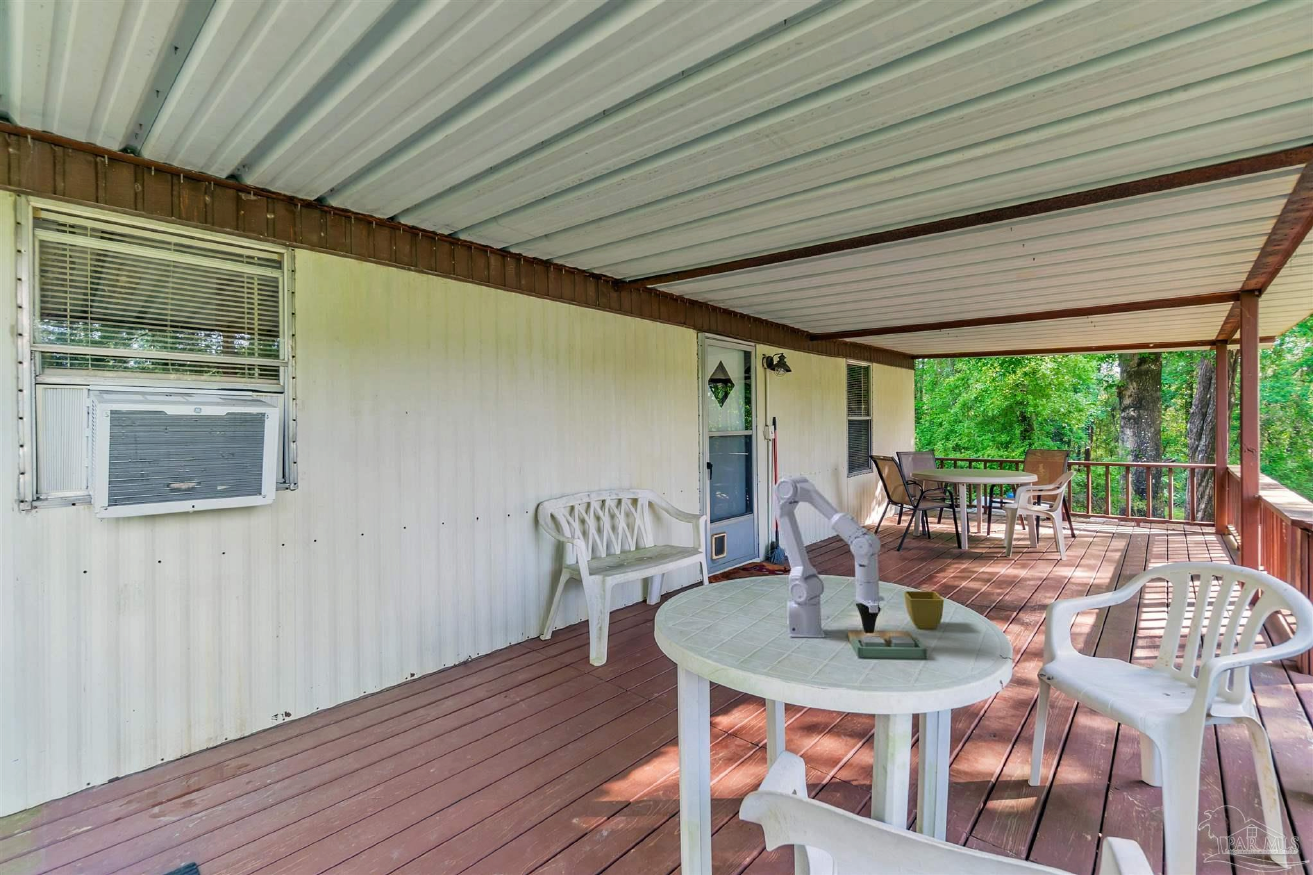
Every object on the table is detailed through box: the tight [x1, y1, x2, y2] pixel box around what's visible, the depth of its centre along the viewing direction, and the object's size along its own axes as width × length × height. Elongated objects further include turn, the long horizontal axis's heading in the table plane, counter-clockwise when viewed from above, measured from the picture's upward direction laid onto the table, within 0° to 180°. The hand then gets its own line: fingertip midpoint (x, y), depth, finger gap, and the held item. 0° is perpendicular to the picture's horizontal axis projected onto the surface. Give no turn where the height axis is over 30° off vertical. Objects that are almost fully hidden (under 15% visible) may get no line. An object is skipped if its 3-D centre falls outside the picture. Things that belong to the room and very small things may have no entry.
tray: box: [851, 636, 928, 660], centre depth 145 cm, size 16×8×2 cm, turn 81°
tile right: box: [889, 636, 915, 648], centre depth 146 cm, size 5×5×2 cm
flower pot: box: [903, 590, 945, 630], centre depth 164 cm, size 9×9×9 cm
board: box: [846, 629, 913, 646], centre depth 153 cm, size 16×8×2 cm, turn 81°
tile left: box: [861, 636, 886, 647], centre depth 147 cm, size 5×5×2 cm
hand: (868, 632), depth 150 cm, fingers closed
